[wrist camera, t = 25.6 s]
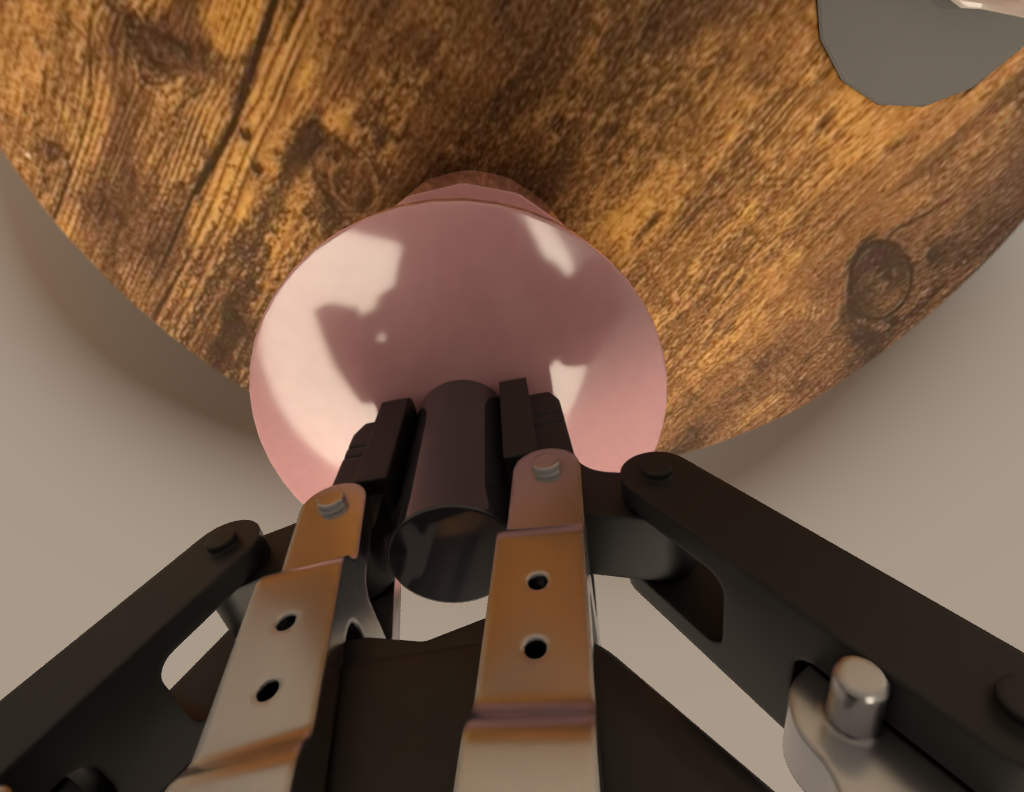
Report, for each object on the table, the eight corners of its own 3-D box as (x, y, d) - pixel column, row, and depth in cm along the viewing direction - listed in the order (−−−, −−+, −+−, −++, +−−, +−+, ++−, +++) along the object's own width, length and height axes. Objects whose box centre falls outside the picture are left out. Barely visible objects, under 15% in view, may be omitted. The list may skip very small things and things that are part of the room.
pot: (371, 348, 29) (337, 414, 22) (383, 152, 24) (344, 160, 18) (547, 374, 30) (564, 443, 24) (589, 191, 26) (626, 214, 19)
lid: (272, 524, 17) (167, 720, 11) (256, 153, 12) (53, 176, 6) (599, 557, 18) (651, 746, 12) (710, 238, 13) (877, 317, 7)
